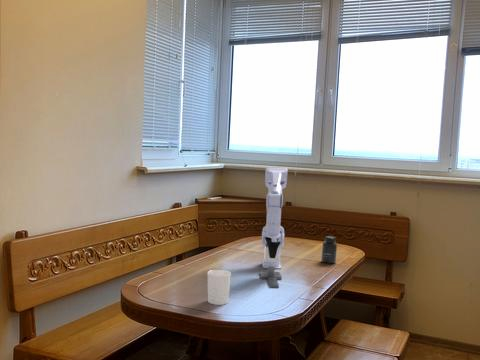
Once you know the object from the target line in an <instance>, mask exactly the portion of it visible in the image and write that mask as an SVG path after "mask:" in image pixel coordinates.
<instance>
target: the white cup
mask: <svg viewBox="0 0 480 360" xmlns="http://www.w3.org/2000/svg"><path fill="white" fill-rule="evenodd" d="M231 278H232V273H231V271H229V270H224V269H211V270H209V271H207V302H208V303H209V304H210V305H215V306H223V305H226V304H228V303H229V296H230V289H231Z"/></svg>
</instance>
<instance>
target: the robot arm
mask: <svg viewBox="0 0 480 360" xmlns="http://www.w3.org/2000/svg"><path fill="white" fill-rule="evenodd" d="M264 174H265V175H264V180H265V182H264V183H265V184H264V185H265V187H266V188H268V189H267V190H268V192H267V195H266V201H265V205H266V220H265V221H266V224H265V226H263V228H262V231H261V245H262V246H263V247H264V249H263V251H264V250H265V244H268V248H269V256H270V258H275V257H276V253H277V249H278V247H279V254H278V262H265V260H264V259H263V261H261V265H262V268H263V269H268V266H274V267H275V269H282V265H281V248H282V247H283V246H284V244H285V229H284V227H283V226H281V220H282V208H283V203H284V202H283V199H284V198H283V197H284V195H283V189H286V186H287V184H288V183H287V182H288V168H286V167H285V168H283V167H282V168H279V167H266V168H265V173H264Z"/></svg>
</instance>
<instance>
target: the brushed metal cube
mask: <svg viewBox="0 0 480 360" xmlns="http://www.w3.org/2000/svg"><path fill="white" fill-rule="evenodd" d="M278 254H279V247H278V249H277V253H276V257H275V258H270V256H269V248H268V244H265V250H264V249H263V261H264V260H265V262H278Z"/></svg>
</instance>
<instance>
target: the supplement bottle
mask: <svg viewBox="0 0 480 360" xmlns="http://www.w3.org/2000/svg"><path fill="white" fill-rule="evenodd" d="M321 247H322V248H321V259H320V260H321V263H323V262H324V264H327V263H334V264H336V262H337V255H338V253H337V250H338V244H337V242H336V236H331V235H328V236H325V237H324V242H322V245H321Z"/></svg>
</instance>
